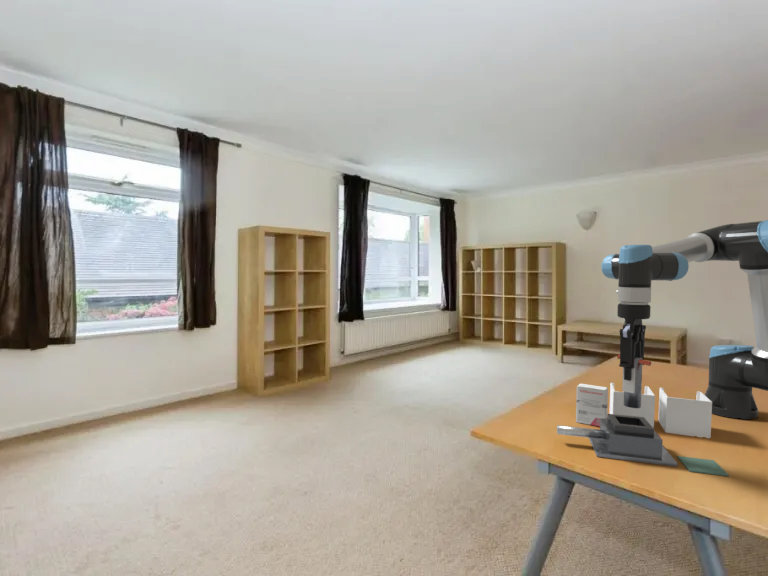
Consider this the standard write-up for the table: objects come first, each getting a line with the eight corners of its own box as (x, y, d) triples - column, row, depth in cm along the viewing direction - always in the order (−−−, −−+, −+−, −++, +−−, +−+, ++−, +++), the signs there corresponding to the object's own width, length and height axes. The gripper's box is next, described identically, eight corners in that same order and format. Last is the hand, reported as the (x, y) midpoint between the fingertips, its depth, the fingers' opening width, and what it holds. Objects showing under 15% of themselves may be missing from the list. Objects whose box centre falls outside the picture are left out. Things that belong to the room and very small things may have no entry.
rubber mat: (713, 461, 107) (713, 460, 107) (729, 476, 100) (729, 474, 100) (677, 457, 110) (677, 455, 109) (689, 471, 102) (689, 469, 102)
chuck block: (658, 444, 118) (659, 415, 117) (676, 466, 104) (678, 435, 104) (554, 432, 126) (555, 406, 125) (559, 452, 112) (560, 422, 112)
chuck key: (622, 399, 118) (623, 353, 117) (653, 409, 109) (655, 360, 109) (612, 401, 116) (613, 355, 116) (642, 412, 108) (644, 361, 107)
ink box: (608, 423, 133) (609, 386, 133) (605, 428, 129) (607, 390, 129) (578, 418, 138) (579, 382, 137) (575, 422, 134) (576, 385, 133)
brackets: (612, 425, 132) (613, 391, 131) (609, 414, 142) (610, 382, 141) (710, 439, 122) (712, 401, 121) (699, 426, 132) (700, 391, 131)
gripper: (629, 300, 120) (626, 381, 121) (606, 304, 109) (604, 393, 110) (659, 302, 115) (656, 386, 116) (639, 306, 103) (636, 400, 104)
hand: (631, 389), depth 113 cm, fingers closed on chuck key, 4 cm apart
